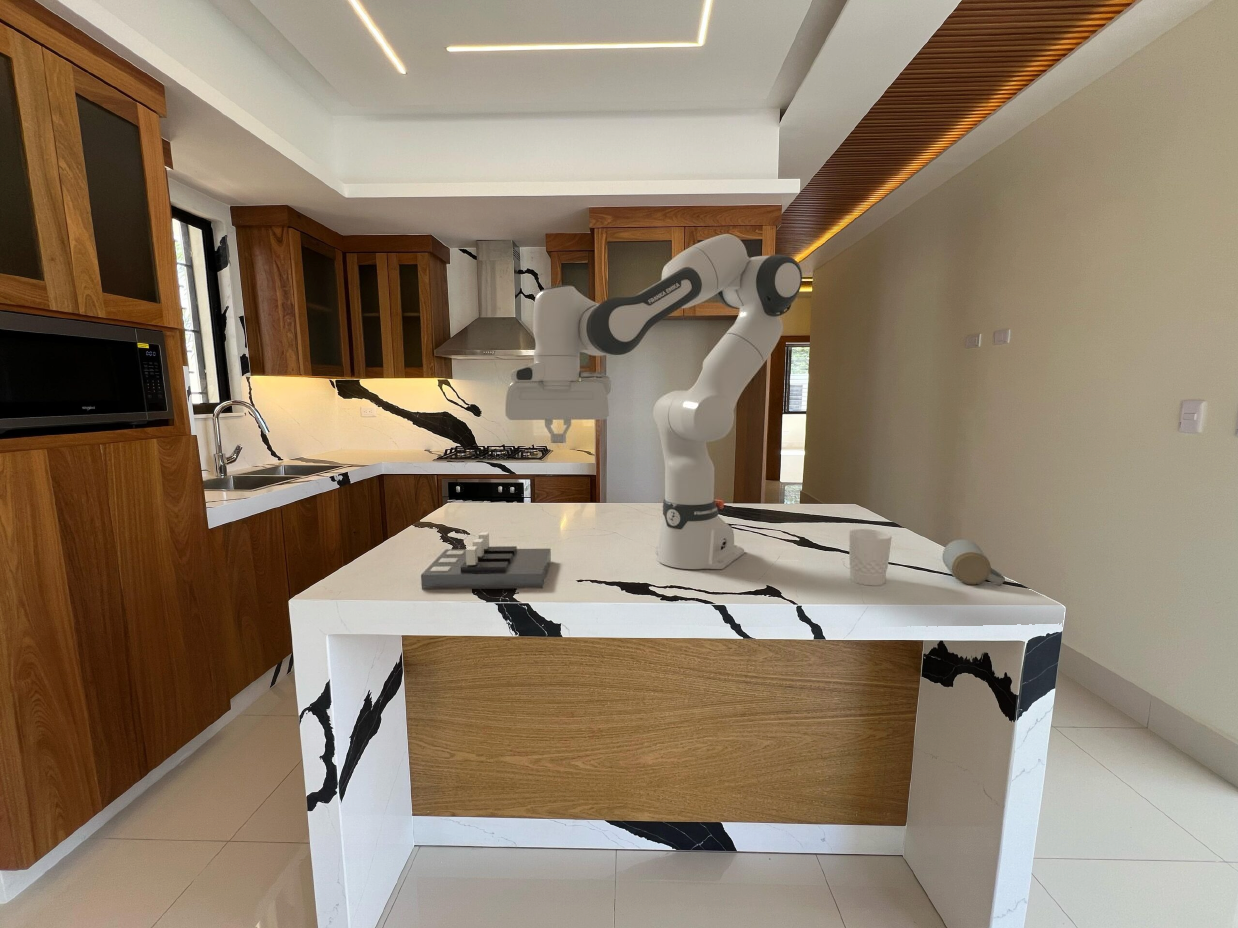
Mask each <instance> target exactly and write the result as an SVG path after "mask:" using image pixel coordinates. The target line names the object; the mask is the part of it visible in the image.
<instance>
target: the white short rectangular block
mask: <svg viewBox="0 0 1238 928" xmlns="http://www.w3.org/2000/svg"><path fill="white" fill-rule="evenodd" d="M478 539H483V542H484V549H487V548H488V547H490V532H489V531H487V532H486V531H484V532H483V531H481V532H480V533H479V534H478Z"/></svg>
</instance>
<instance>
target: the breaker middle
mask: <svg viewBox="0 0 1238 928" xmlns="http://www.w3.org/2000/svg"><path fill="white" fill-rule="evenodd" d="M472 546H477V554H478V557H481V556H482V555H483V554H484V542H483V539H479V538H475V539H473V541H472Z"/></svg>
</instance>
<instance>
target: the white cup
mask: <svg viewBox="0 0 1238 928" xmlns="http://www.w3.org/2000/svg"><path fill="white" fill-rule="evenodd" d="M892 538H893V537H892V534H890V533H888V532H886V531H882V530H878V529H871V528H856V529H855V528H854V529H852V530H849V545H848V546H849V547H848V548H849V550H848V552H849V557H848V558H849V579H850V580H851V581H852V582H854V583H857V584H859V585H864V586H871V587H872V586H874V587H876V586H882V585H884V584H885V583H886V579H887V571H888V566H889V560H890V552H891V545H892Z"/></svg>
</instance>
